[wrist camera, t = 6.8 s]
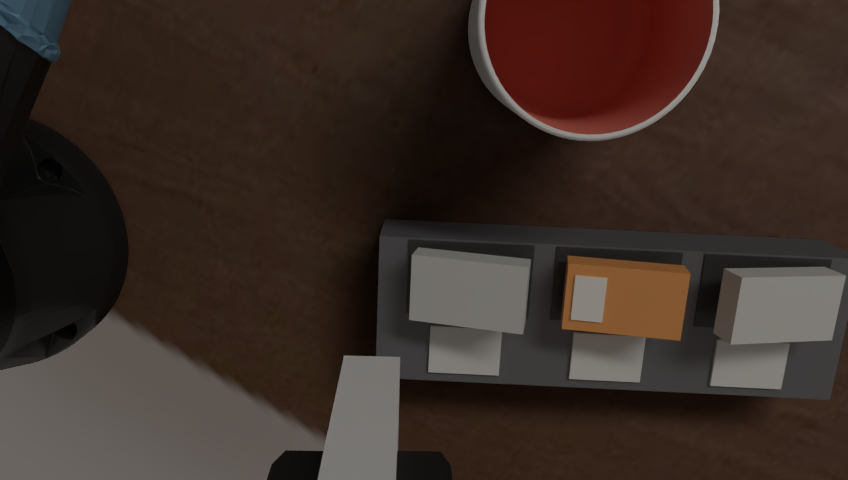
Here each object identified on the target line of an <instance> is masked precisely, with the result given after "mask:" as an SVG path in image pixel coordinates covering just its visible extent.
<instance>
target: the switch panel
mask: <svg viewBox="0 0 848 480" xmlns="http://www.w3.org/2000/svg"><path fill="white" fill-rule="evenodd" d="M418 247H421V248H430V249H439V250H449V251H458V252H468V253H477V254H486V255H496V256H505V257H515V258H524V259H531V266H530V277H529V288H528V299H527V310H526V322H525V327H524V332H523V335H522V334H514V333H506V332H499V331H491V330H483V329H475V328H468V327H460V326H452V325H444V324H437V323H429V322H421V321H413V320H409V309H410V286H411V262H412V254H413V253H414V252H415V251H416V250H417V248H418ZM567 255H568V256H580V257H592V258H603V259H615V260H627V261H638V262H650V263H662V264H673V265H684V266H685V267H686V268H687V270H688V271H689V273H690V274H691V275H690V281H689V288H688V294H687V301H686V307H685V314H684V320H683V327H682V333H681V340H680V341H678V340H668V339H658V338H648V337H638V336H628V335H618V334H608V333H598V332H588V331H578V330H568V329H562V327H561V311H562V302H563V292H564V282H565V273H566V263H567ZM779 267H826V268H829V269H831V270H834V271H836V272H839V273H841V274H844V275H846V278H845V283H844V287H843V292H842V296H841V301H840V306H839V310H838V315H837V319H836V324H835V329H834V333H833V338H832V340H829V341H805V342H781V343H758V344H734V345H730V344H729V343H727V342H726V341H724V340H723V339H721V338H720V337H718V336H717V335H715V334H714V333H713V331H714V325H715V319H716V313H717V307H718V301H719V295H720V289H721V283H722V277H723V271H724V268H779ZM847 320H848V253H847V252H845V251H843V250H841V249H839V248H837V247H835V246H833V245H831V244H829V243H827V242H824V241H822V240H816V239H795V238H774V237H753V236H732V235H711V234H690V233H669V232H648V231H627V230H606V229H585V228H564V227H543V226H522V225H501V224H480V223H459V222H438V221H417V220H396V219H385V220H384V223H383V227H382V230H381V233H380V238H379V272H378V307H377V341H376V356H385V357H400V379H413V380H433V381H454V382H475V383H495V384H516V385H536V386H557V387H577V388H598V389H618V390H639V391H660V392H680V393H701V394H721V395H742V396H762V397H783V398H804V399H824V400H830V397H831V393H832V388H833V383H834V379H835V374H836V370H837V365H838V361H839V356H840V352H841V347H842V343H843V338H844V334H845V329H846V325H847Z"/></svg>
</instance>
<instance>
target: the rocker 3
mask: <svg viewBox="0 0 848 480" xmlns="http://www.w3.org/2000/svg"><path fill="white" fill-rule="evenodd" d="M845 278H846V275H844V274H841V273H839V272H836V271H834V270H831V269H829V268H826V267H779V268H724V271H723V277H722V283H721V289H720V295H719V301H718V307H717V313H716V319H715V325H714V331H713V333H714V334H715V335H717V336H718V337H720V338H721V339H723V340H724V341H726V342H727V343H729V344H730V345H734V344H758V343H781V342H805V341H829V340H832V338H833V333H834V329H835V324H836V319H837V315H838V310H839V306H840V301H841V296H842V292H843V287H844V283H845Z"/></svg>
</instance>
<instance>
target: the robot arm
mask: <svg viewBox="0 0 848 480" xmlns="http://www.w3.org/2000/svg"><path fill="white" fill-rule="evenodd" d="M71 1H72V0H0V370H3V369H7V368H12V367H16V366H20V365H25V364H30V363H34V362H37V361H40V360H43V359H46V358H48V357H50V356H52V355H55V354H57V353H59V352H61V351H63V350H65V349H66V348H68V347H70V346H71V345H73V344H74V343H75V342H76V341H78V340H79V339H80V338H82V337H83V336H84V335H85V334H87V333H88V332H89V331H90V330H92V329H93V328H94V327H95V326H96V325H97V324H99V322H101V321H102V319H103V318H104V317H105V316H106V315H107V314H108V312H109V311H110V309H111V308H112V306H113V305H114V303H115V302H116V300H117V298H118V296H119V294H120V291H121V289H122V286H123V283H124V279H125V275H126V271H127V263H128V239H127V231H126V226H125V222H124V218H123V215H122V212H121V209H120V206H119V204H118V201H117V199H116V197H115V195H114V193H113V191H112V189H111V187H110V186H109V184H108V182H107V181H106V179H105V178H104V176H103V175H102V173H101V172H100V171H99V169H98V168H97V167H96V166H95V164H94V163H93V162H92V161H91V160H90V159H89V158H88V157H87V156H86V155H85V154H84V153H83V152H82V151H81V150H80V149H79V148H78V147H77V146H75V145H74V144H73V143H72V142H70V141H69V140H68V139H66V138H65V137H64V136H62V135H60V134H59V133H57V132H56V131H54V130H52V129H50V128H49V127H47V126H45V125H43V124H41V123H38V122H36V121H34V120H31V119H28V118H29V116H30V113H31V111H32V108H33V106H34V104H35V101H36V99H37V96H38V94H39V91H40V89H41V87H42V84H43V82H44V79H45V77H46V74H47V72H48V70H49V67H50V65H51V62H57V61H58V58H59V56H60V48H59V45H58V39H59V36H60V33H61V30H62V28H63V25H64V22H65V19H66V16H67V13H68V10H69V7H70V4H71ZM399 386H400V357H385V356H344V358H343V363H342V368H341V372H340V377H339V382H338V386H337V391H336V396H335V400H334V405H333V410H332V414H331V419H330V424H329V428H328V433H327V438H326V442H325V447H324V451H285V452H284V453H283V454H282V455H281V456H280V457H279V458H278V459H277V460H276V461H275V462H274V463H273V464H272V466H271V469H270V472H269V475H268V478H267V480H452V472H451V465H450V464H449V462H448V461H447V460H446V458H445V457H444V456H443V454H442V453H441V452H422V451H398V425H399Z"/></svg>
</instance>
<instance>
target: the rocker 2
mask: <svg viewBox="0 0 848 480" xmlns="http://www.w3.org/2000/svg"><path fill="white" fill-rule="evenodd" d="M690 275H691V274H690V273H689V271H688V270H687V268H686V267H685V266H684V265H673V264H662V263H650V262H638V261H627V260H615V259H603V258H592V257H580V256H568V255H567V263H566V273H565V282H564V292H563V302H562V311H561V327H562V329H568V330H578V331H588V332H598V333H608V334H618V335H628V336H638V337H648V338H658V339H668V340H678V341H680V340H681V333H682V327H683V320H684V314H685V307H686V301H687V294H688V288H689V281H690Z"/></svg>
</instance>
